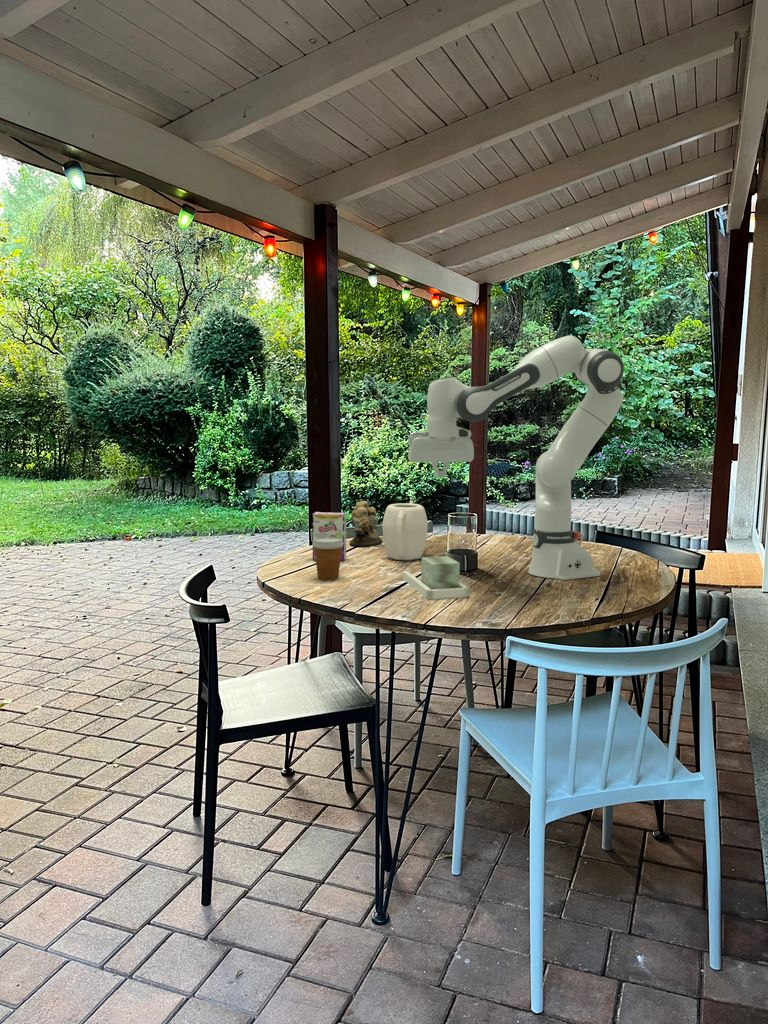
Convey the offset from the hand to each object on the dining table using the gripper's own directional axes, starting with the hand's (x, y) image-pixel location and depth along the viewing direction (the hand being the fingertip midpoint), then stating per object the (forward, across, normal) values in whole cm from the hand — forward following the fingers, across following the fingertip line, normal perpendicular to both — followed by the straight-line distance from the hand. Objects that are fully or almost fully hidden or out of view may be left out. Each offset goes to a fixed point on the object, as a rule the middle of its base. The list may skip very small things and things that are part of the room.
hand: (440, 477), depth 220 cm
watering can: (+31, -2, +32) cm, 45 cm away
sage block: (+31, -6, -19) cm, 37 cm away
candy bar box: (+31, -29, +33) cm, 54 cm away
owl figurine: (+31, -10, +61) cm, 69 cm away
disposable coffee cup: (+31, -34, +6) cm, 47 cm away
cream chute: (+31, -6, -13) cm, 34 cm away
